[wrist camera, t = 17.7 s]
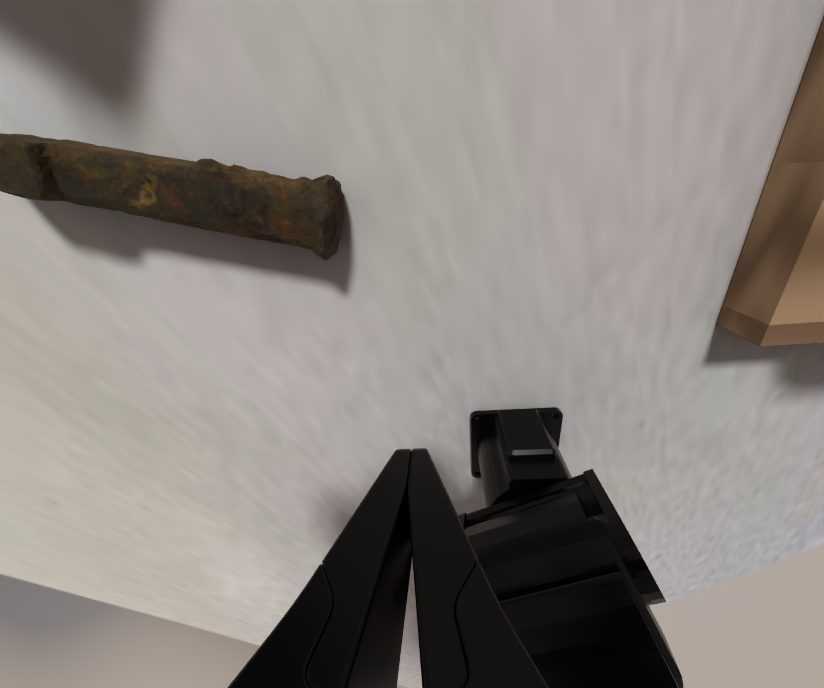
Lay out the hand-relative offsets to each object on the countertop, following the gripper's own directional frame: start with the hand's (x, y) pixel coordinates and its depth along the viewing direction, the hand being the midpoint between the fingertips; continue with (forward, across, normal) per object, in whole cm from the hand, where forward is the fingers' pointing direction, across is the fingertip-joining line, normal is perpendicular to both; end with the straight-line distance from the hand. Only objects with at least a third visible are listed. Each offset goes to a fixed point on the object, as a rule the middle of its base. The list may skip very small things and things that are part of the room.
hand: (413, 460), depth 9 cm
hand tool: (+14, +13, -7) cm, 20 cm away
